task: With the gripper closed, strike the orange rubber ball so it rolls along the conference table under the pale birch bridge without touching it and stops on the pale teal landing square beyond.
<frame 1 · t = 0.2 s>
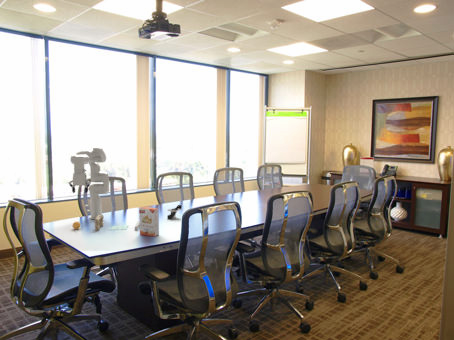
hand: (80, 192, 291), 31 cm above the table, tool pointing down, fingers open, 9 cm apart
ball: (76, 225, 298), on the table
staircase: (174, 219, 336), on the table
stopper: (137, 227, 304), on the table
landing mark: (119, 227, 302), on the table
bridge: (99, 228, 300), on the table
cracker box: (149, 235, 280), on the table
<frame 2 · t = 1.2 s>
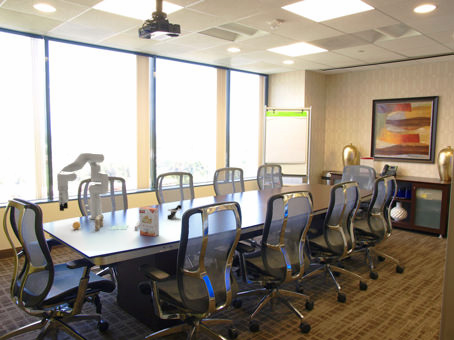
hand: (63, 209, 296), 16 cm above the table, tool pointing down, fingers open, 8 cm apart
nothing on the table moved.
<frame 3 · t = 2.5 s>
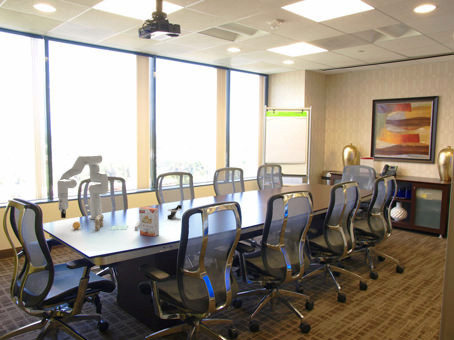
hand: (63, 217, 296), 10 cm above the table, tool pointing down, fingers closed
nothing on the table moved.
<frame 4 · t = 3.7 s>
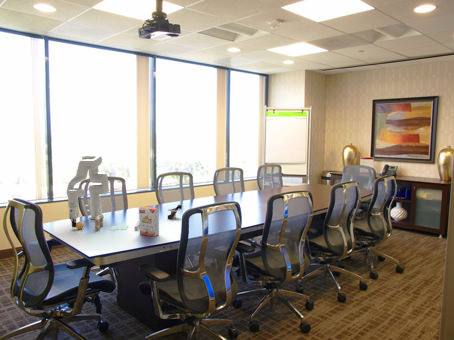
hand: (74, 227, 298), 2 cm above the table, tool pointing down, fingers closed
ball: (79, 225, 298), on the table
everything else where it was.
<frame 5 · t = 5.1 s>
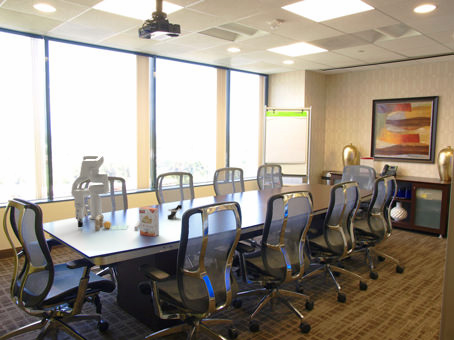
hand: (80, 227, 299), 2 cm above the table, tool pointing down, fingers closed
ball: (107, 224, 300), on the table
everything else where it was.
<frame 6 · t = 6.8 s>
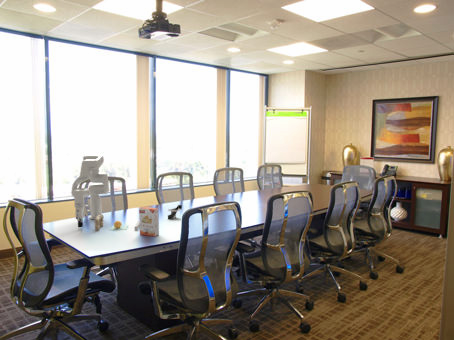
hand: (80, 227, 299), 2 cm above the table, tool pointing down, fingers closed
ball: (117, 224, 300), on the table
everything else where it was.
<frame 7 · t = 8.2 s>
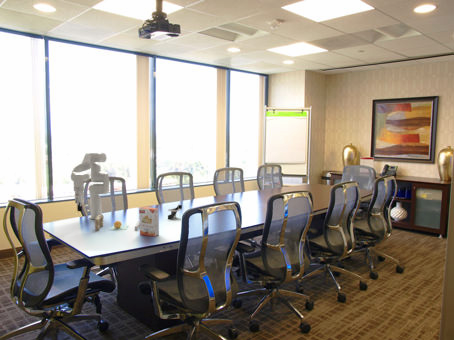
hand: (79, 211, 298), 15 cm above the table, tool pointing down, fingers closed
nothing on the table moved.
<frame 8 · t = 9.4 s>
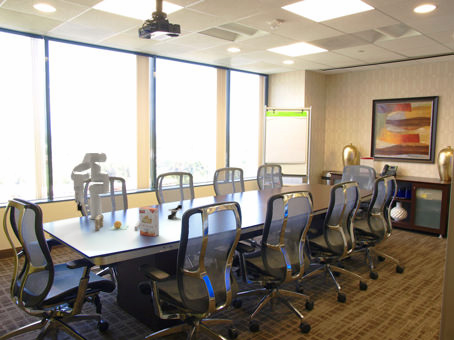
hand: (79, 210, 297), 15 cm above the table, tool pointing down, fingers closed
nothing on the table moved.
at the end: ball 1.7 cm from the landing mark (horizontally); ball never touched bridge; ball at rest at the end (0.0 cm/s) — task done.
